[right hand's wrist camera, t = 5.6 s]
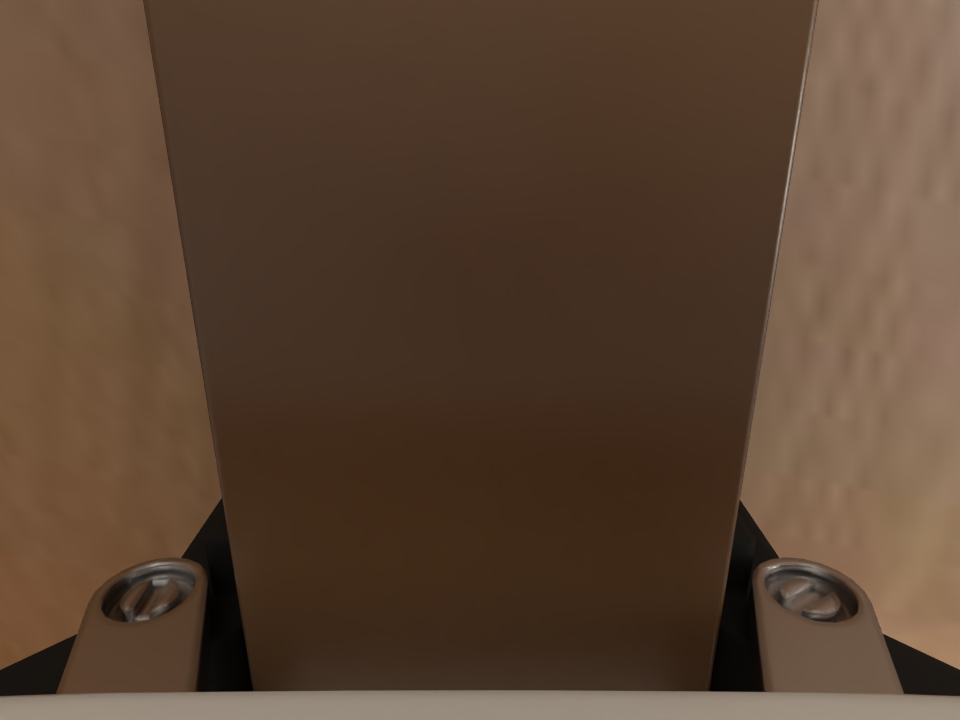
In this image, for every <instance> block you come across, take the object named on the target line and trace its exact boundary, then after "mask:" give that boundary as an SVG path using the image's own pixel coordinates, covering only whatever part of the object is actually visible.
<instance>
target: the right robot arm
mask: <svg viewBox="0 0 960 720" xmlns="http://www.w3.org/2000/svg"><path fill="white" fill-rule="evenodd" d="M0 720H960V670H959V669H957V668H955V667H952V666H950V665H948V664H946V663H944V662H942V661H940V660H937V659H935V658H933V657H931V656H929V655H927V654H925V653H923V652H920V651H918V650H916V649H914V648H912V647H910V646H908V645H906V644H903V643H901V642H899V641H897V640H895V639H893V638H891V637H888V636H886V635H884V634H882V631H881V628H880V625H879V622H878V620H877V617H876V614H875V611H874V608H873V606H872V603H871V601H870V600H869V598H868V596H867V595H866V593H865V591H864V590H863V589H862V588H860V587H859V586H858V585H857V584H856V583H855V582H854V581H853V580H852V579H850V578H848V577H847V576H845V575H844V574H842V573H840V572H839V571H837V570H835V569H832V568H830V567H828V566H825V565H823V564H821V563H817V562H813V561H809V560H805V559H798V558H779V557H778V555H777V554H776V552H775V551H774V549H773V548H772V546H771V545H770V543H769V542H768V541H767V539H766V538H765V536H764V535H763V533H762V532H761V530H760V529H759V527H758V526H757V524H756V523H755V521H754V520H753V518H752V517H751V515H750V514H749V513H748V511H747V510H746V508H745V507H744V505H743V504H742V502H741V501H739V507H738V513H737V520H736V526H735V532H734V538H733V545H732V551H731V557H730V564H729V570H728V576H727V583H726V589H725V595H724V602H723V608H722V614H721V621H720V627H719V633H718V640H717V646H716V652H715V659H714V665H713V671H712V677H711V684H710V690H709V691H565V690H418V691H253V688H252V682H251V675H250V669H249V663H248V657H247V650H246V644H245V638H244V631H243V625H242V619H241V613H240V606H239V600H238V594H237V587H236V581H235V575H234V568H233V562H232V556H231V550H230V543H229V537H228V531H227V524H226V518H225V512H224V505H223V499H221V500H220V502H219V503H218V504H217V506H216V507H215V509H214V510H213V512H212V513H211V515H210V516H209V518H208V519H207V521H206V522H205V524H204V525H203V527H202V528H201V530H200V531H199V532H198V534H197V535H196V537H195V538H194V540H193V541H192V543H191V544H190V546H189V547H188V549H187V550H186V552H185V553H184V555H183V556H182V558H162V559H155V560H151V561H147V562H143V563H139V564H137V565H135V566H132V567H130V568H128V569H125V570H123V571H121V572H120V573H118V574H116V575H115V576H113V577H112V578H110V579H108V580H107V581H106V582H105V583H104V584H103V585H102V586H101V587H100V588H98V589H97V590H96V591H95V593H94V595H93V596H92V598H91V600H90V601H89V603H88V606H87V608H86V611H85V614H84V617H83V620H82V622H81V625H80V628H79V631H78V634H76V635H74V636H72V637H70V638H68V639H66V640H63V641H61V642H59V643H57V644H55V645H53V646H51V647H49V648H46V649H44V650H42V651H40V652H38V653H36V654H34V655H31V656H29V657H27V658H25V659H23V660H21V661H19V662H17V663H14V664H12V665H10V666H8V667H6V668H4V669H2V670H0Z"/></svg>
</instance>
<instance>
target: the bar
mask: <svg viewBox="0 0 960 720" xmlns="http://www.w3.org/2000/svg"><path fill="white" fill-rule="evenodd" d="M818 1H819V0H143V2H144V8H145V14H146V21H147V27H148V33H149V40H150V46H151V52H152V59H153V65H154V71H155V77H156V84H157V90H158V96H159V103H160V109H161V115H162V121H163V128H164V134H165V140H166V147H167V153H168V159H169V166H170V172H171V178H172V184H173V191H174V197H175V203H176V210H177V216H178V222H179V228H180V235H181V241H182V247H183V254H184V260H185V266H186V273H187V279H188V285H189V291H190V298H191V304H192V310H193V317H194V323H195V329H196V336H197V342H198V348H199V354H200V361H201V367H202V373H203V380H204V386H205V392H206V398H207V405H208V411H209V417H210V424H211V430H212V436H213V443H214V449H215V455H216V461H217V468H218V474H219V480H220V487H221V493H222V499H223V505H224V512H225V518H226V524H227V531H228V537H229V543H230V550H231V556H232V562H233V568H234V575H235V581H236V587H237V594H238V600H239V606H240V613H241V619H242V625H243V631H244V638H245V644H246V650H247V657H248V663H249V669H250V675H251V682H252V688H253V691H418V690H565V691H709V690H710V684H711V677H712V671H713V665H714V659H715V652H716V646H717V640H718V633H719V627H720V621H721V614H722V608H723V602H724V595H725V589H726V583H727V576H728V570H729V564H730V557H731V551H732V545H733V538H734V532H735V526H736V520H737V513H738V507H739V501H740V494H741V488H742V482H743V475H744V469H745V463H746V456H747V450H748V444H749V437H750V431H751V425H752V418H753V412H754V406H755V399H756V393H757V387H758V381H759V374H760V368H761V362H762V355H763V349H764V343H765V336H766V330H767V324H768V317H769V311H770V305H771V298H772V292H773V286H774V279H775V273H776V267H777V260H778V254H779V248H780V242H781V235H782V229H783V223H784V216H785V210H786V204H787V197H788V191H789V185H790V178H791V172H792V166H793V159H794V153H795V147H796V140H797V134H798V128H799V121H800V115H801V109H802V103H803V96H804V90H805V84H806V77H807V71H808V65H809V58H810V52H811V46H812V39H813V33H814V27H815V20H816V14H817V8H818Z"/></svg>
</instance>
